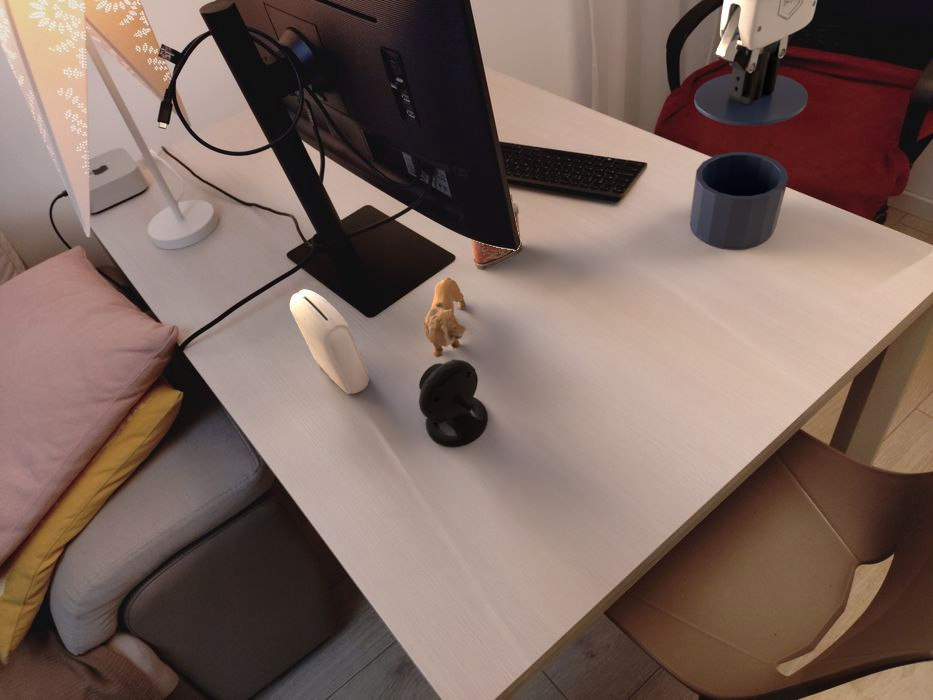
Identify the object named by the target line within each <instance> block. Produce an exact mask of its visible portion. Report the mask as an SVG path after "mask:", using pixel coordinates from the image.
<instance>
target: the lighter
mask: <svg viewBox="0 0 933 700" xmlns="http://www.w3.org/2000/svg"><path fill="white" fill-rule="evenodd" d="M511 200H512V205H513V210H514V214H515V218H516V223H517V228H518V232H519V236H520V237H521V232H520V224H519V223H520V222H519V212H520V211H519V206H518V205H517V204H516V203H515V202H513V195H512V194H511ZM471 246H472V251H473V256H474V258H473V263H474V267H475V268H476V269H478V270H482V271H483V270H487V269H490V268H493V267H496V266H498V265H501V264H503V263H505V262H507V261H509V260H511V259H512V258H514V257H516V256H517V255H519V254H520V253H521V252H522V251H523V242H522V241H521V245H520V247H519V249H518V250H516V251H513V250H507V249H501V248H496V247H493V246H489V245H486V244H482V243H479V242H476V241H473V240H471Z"/></svg>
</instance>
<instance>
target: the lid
mask: <svg viewBox="0 0 933 700" xmlns="http://www.w3.org/2000/svg"><path fill="white" fill-rule="evenodd" d="M748 52H749V49H747V48H745V53H746V55H747V56H748ZM770 52H771V48H770V47H769V46H765V47H763V48H760V52H759V56H758V60H757V65H756V68H755V70H758V71H759V74H758V79H757V84H756V90H755V95H754V100H753V103H751V104H749V105H746V104H743V103H741V102H738V101H736V100H733V99H731V98H730V97H729V89H730V83H731V77H732V73H728V74H723V75H719V76H718V77H714V78H712V79H709V80H708V81H705V82H704V83H703V84H702V85H700V86H699V87H698V89H697V90H696V92H695V94H694V101H693V102H694V106H695V108H696V109H697V110H698V112H699V113H700V114H702V116H705V117H706V118H709V119H710V120H713V121H716V122H718V123H723V124H725V125H732V126H739V127H741V126H743V127H760V126H761V127H762V126H768V125H773V124H774V125H775V124H778V123H782V122H785V121H789V120H790V119H792V118H794V117H797V115H799V114H800V113H802V111H804V109H805V108H806V106H807V103H808V99H809V94H808V91H807V90H806V87H804V86H803V85H802V84H801V83H799V82H798V81H796V80H795V79H793V78H790V77H788V76H785V75H781V74H777V79H776V83H775V88H774V92H773V93H771V94H769V95H768V94H765V93H763V87H764V82H765V77H766V72H767V67H768V62H769V57H770Z"/></svg>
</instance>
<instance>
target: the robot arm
mask: <svg viewBox="0 0 933 700" xmlns="http://www.w3.org/2000/svg"><path fill="white" fill-rule="evenodd" d="M817 3H818V0H723V4H722V9H721V16H720V27H719V36H720V39H721V40H720V42H719V44H718V46H717V49H716V51H715V57H716V58H718V59H721V60H724V61H728V63H729V66H730V67H732V71H731V74H732V77H731V83H730V89H729V97H730V98H731V99H733V100H736V101H738V102H741V103H743V104H746V105H749V104H751V103H753V100H754V95H755V90H756V84H757V79H758V74H759V71H758V70H755V68H756V65H757V60H758V56H759V52H760V48H763V47H765V46H769V47H770V48H771V52H770V57H769V62H768V67H767V72H766V77H765V82H764V87H763V93H765V94H768V95H769V94H771V93H773V92H774V88H775V83H776V79H777V75H779V74H778V73H779V68H780V65H781V59H782V58H784V56H785V55H786V52H787V48H788V43H789V42H790V41H791V39H792V38H793V36H794V34H795V33H796V32H798V31H800V30H802V29H803V28H805V27H806V26H808V25H809V24H810V23H811V22H812V21H813V18H814V14H815V12H816V7H817ZM744 49H749V52H748V56H747V55H746V51H744Z"/></svg>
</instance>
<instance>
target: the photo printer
mask: <svg viewBox="0 0 933 700" xmlns="http://www.w3.org/2000/svg"><path fill="white" fill-rule="evenodd" d="M289 301H290V302H289V309H290V312H291V314H292V317H293V318H294V321H295V322H296V325H297V326H298V328H299V330H300V331H299V332H300V333H301V335H302V336H303V338H304V340H305V343H306V344H307V347H308V348H309V351H310V352H311V355H312V357H313V359H314V360H315V362H316V363H317V364H318V365H319V366H320V368H321V369H322V370H323V372H324V373H325V374H326V375H327V376H328V377H329V378H330V379H331V380H332V381H333V382H334V383H335V384H336V385H337V386H338V388H340V389H341V390H342V391H343V392H344V393H346V394H347V395H350V394H353V395H354V394H358V393H360V392H362V391H364V389H366V388H367V386H368V385H369V381H371V376H370V373H369V371H368V369H367V366H366V364H365V361H364V359H363V356H362V354H361V352H360V349H359V347H358V345H357V343H356V340H355V337H354V335H353V332H352V330H351V328H350V325H349V324H348V322H347V320H346V319H345V318H344V317H343V315H341V313H340V312H339V311H338V310H337V309H336V308H335V307H334V306H333V305H332V304H331V303H330V302H329V301H328V300H327V299H325V298H324V296H322V295H320V294H318V293H317V292H315V291H312V290H309V289H301V290H300V291H299V292H296V293H294V294H292V296H291V298H290V300H289Z"/></svg>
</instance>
